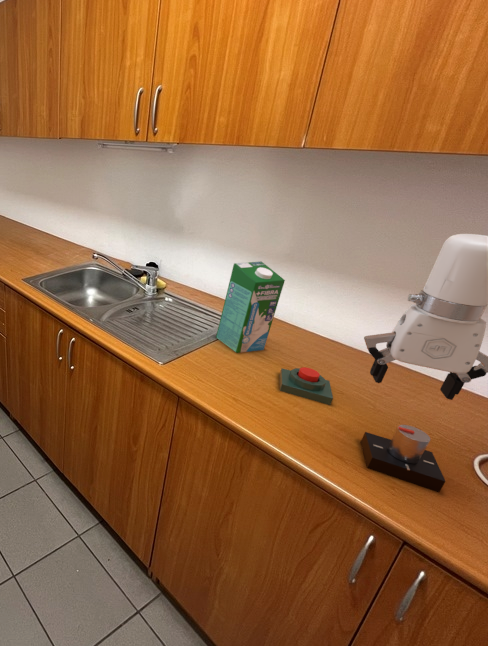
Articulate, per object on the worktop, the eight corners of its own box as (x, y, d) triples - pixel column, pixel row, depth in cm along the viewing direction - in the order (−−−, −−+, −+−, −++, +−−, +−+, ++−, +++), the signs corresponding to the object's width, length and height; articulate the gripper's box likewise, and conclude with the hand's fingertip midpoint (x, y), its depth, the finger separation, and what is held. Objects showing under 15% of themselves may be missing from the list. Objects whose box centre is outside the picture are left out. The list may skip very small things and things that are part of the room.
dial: (415, 451, 78) (427, 429, 75) (421, 467, 74) (434, 444, 72) (385, 442, 80) (396, 420, 78) (389, 457, 77) (401, 434, 74)
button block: (326, 387, 101) (331, 374, 99) (330, 405, 94) (335, 392, 93) (279, 374, 106) (283, 362, 104) (279, 391, 100) (284, 378, 98)
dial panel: (425, 462, 79) (432, 450, 78) (439, 494, 72) (446, 482, 71) (359, 441, 84) (365, 430, 83) (367, 469, 78) (373, 457, 76)
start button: (317, 376, 99) (319, 370, 98) (318, 384, 96) (320, 378, 95) (297, 371, 101) (299, 365, 101) (298, 379, 98) (300, 373, 97)
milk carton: (236, 353, 115) (258, 274, 106) (215, 337, 123) (233, 262, 114) (264, 350, 116) (287, 272, 107) (241, 334, 125) (261, 260, 115)
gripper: (388, 304, 69) (354, 383, 76) (538, 327, 61) (486, 414, 67) (376, 288, 75) (346, 363, 82) (512, 308, 67) (466, 390, 73)
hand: (409, 386), depth 75 cm, fingers open, 9 cm apart
